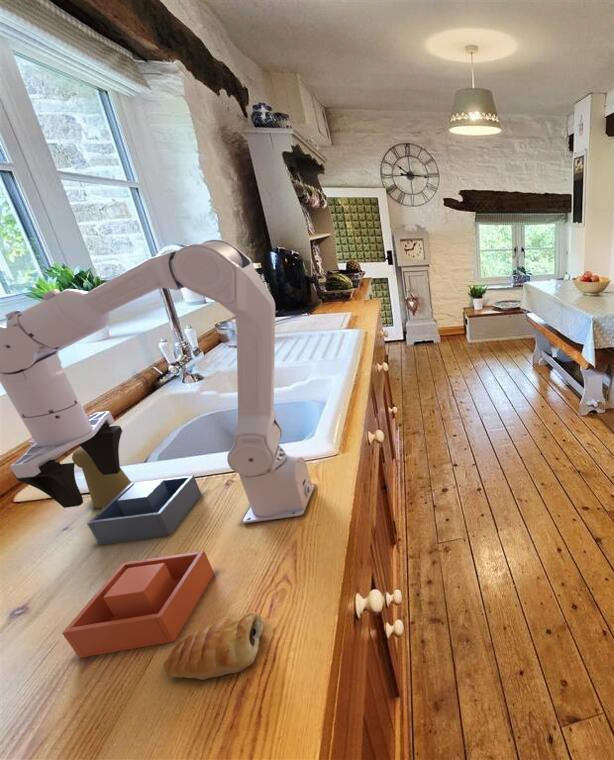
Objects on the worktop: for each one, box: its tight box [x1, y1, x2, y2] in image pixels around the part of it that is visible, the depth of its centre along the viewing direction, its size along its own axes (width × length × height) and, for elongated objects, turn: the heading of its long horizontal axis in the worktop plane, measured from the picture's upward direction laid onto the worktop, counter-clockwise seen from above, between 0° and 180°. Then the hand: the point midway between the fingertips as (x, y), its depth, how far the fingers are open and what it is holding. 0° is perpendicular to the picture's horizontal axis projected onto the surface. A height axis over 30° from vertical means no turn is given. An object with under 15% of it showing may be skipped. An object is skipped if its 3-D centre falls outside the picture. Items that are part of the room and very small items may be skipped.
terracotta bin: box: [61, 550, 215, 659], centre depth 53 cm, size 10×10×4 cm
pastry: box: [162, 610, 265, 681], centre depth 47 cm, size 9×7×4 cm
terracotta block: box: [103, 563, 176, 620], centre depth 52 cm, size 4×4×6 cm
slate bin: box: [87, 475, 203, 546], centre depth 69 cm, size 10×10×4 cm
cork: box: [71, 446, 132, 509], centre depth 74 cm, size 6×6×11 cm
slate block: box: [117, 481, 171, 516], centre depth 69 cm, size 4×4×6 cm
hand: (93, 488), depth 61 cm, fingers open, 7 cm apart
